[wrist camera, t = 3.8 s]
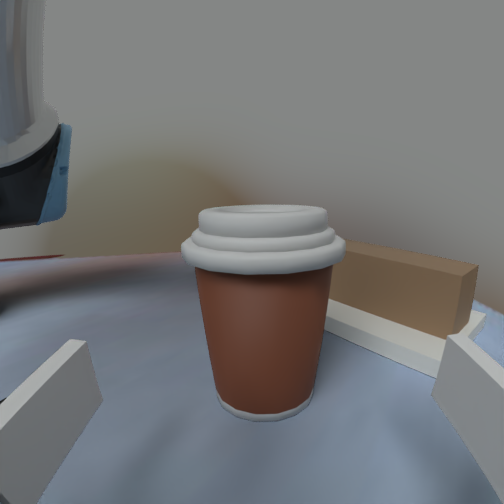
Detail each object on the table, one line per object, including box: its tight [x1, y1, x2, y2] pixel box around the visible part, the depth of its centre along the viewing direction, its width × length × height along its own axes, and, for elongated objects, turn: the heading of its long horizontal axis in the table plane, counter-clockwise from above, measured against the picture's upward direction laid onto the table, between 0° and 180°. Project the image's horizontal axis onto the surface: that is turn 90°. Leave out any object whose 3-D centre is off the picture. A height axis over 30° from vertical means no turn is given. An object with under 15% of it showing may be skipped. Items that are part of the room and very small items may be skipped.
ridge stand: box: [324, 239, 486, 378], centre depth 31 cm, size 24×12×7 cm, turn 34°
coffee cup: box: [181, 205, 346, 422], centre depth 19 cm, size 9×9×12 cm
